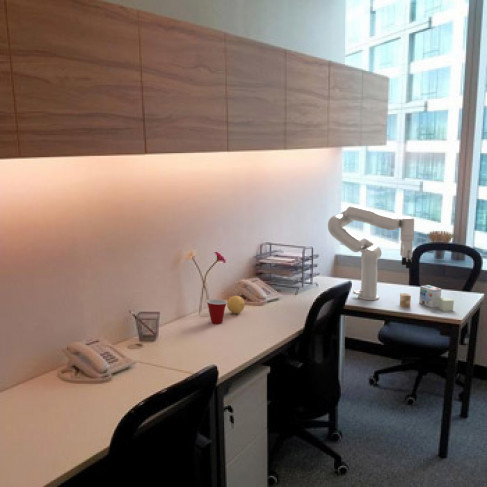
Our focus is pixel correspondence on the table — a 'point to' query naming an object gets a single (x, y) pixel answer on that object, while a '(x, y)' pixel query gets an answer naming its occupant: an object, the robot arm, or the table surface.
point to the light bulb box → (429, 295)
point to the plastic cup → (216, 310)
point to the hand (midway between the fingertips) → (406, 266)
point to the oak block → (405, 300)
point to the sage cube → (445, 304)
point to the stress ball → (235, 304)
